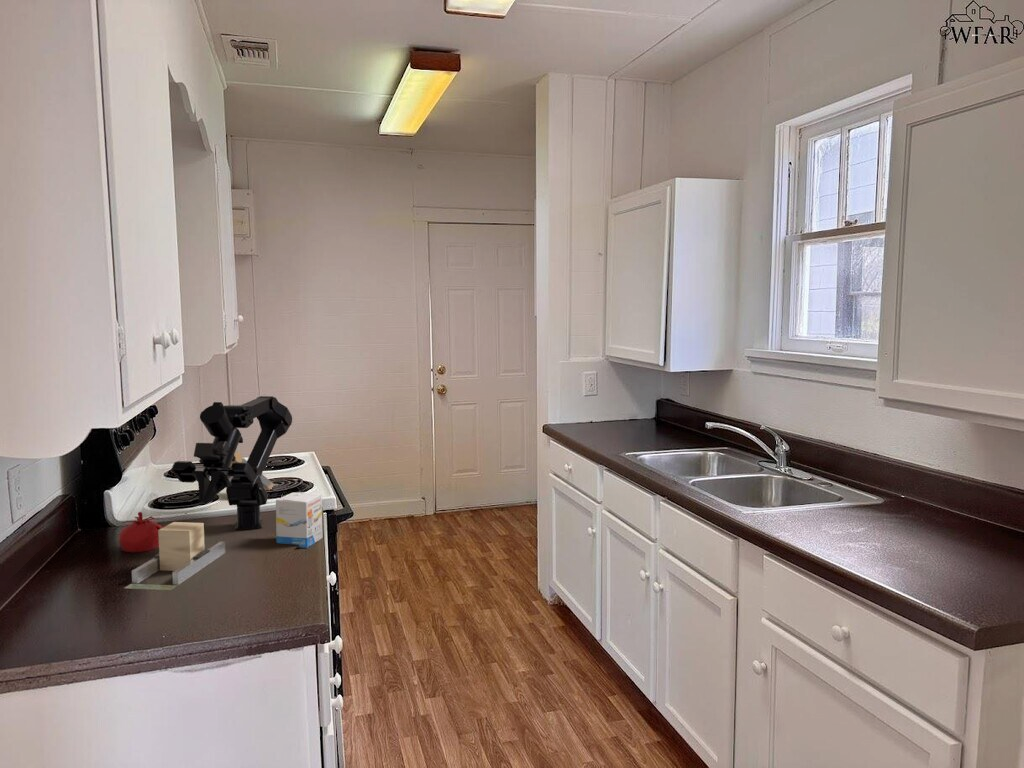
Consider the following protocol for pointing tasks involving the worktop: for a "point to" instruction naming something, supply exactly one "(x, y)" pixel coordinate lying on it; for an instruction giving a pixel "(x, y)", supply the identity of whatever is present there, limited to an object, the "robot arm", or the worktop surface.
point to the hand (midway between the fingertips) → (202, 503)
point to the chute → (179, 574)
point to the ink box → (299, 519)
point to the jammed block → (180, 544)
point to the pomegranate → (140, 535)
